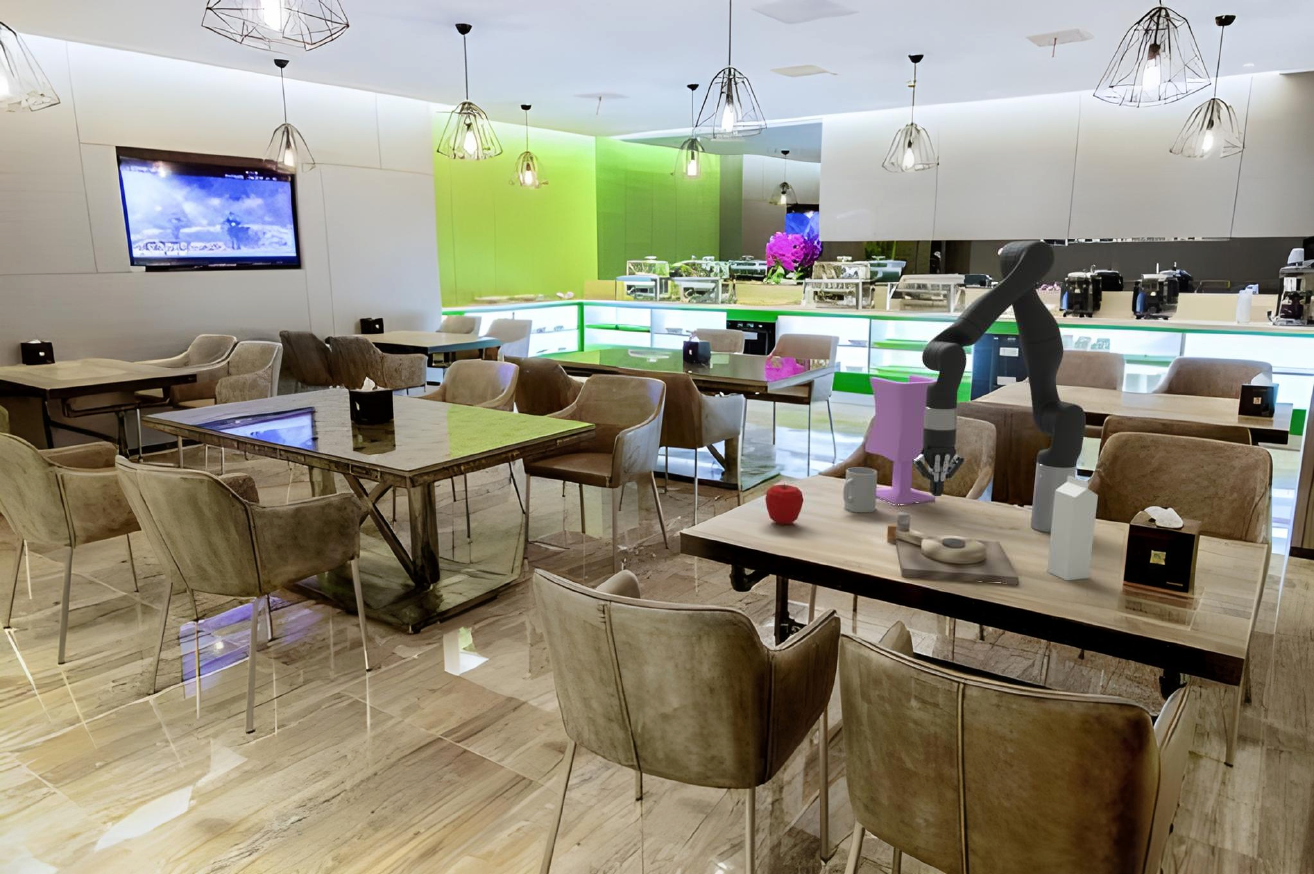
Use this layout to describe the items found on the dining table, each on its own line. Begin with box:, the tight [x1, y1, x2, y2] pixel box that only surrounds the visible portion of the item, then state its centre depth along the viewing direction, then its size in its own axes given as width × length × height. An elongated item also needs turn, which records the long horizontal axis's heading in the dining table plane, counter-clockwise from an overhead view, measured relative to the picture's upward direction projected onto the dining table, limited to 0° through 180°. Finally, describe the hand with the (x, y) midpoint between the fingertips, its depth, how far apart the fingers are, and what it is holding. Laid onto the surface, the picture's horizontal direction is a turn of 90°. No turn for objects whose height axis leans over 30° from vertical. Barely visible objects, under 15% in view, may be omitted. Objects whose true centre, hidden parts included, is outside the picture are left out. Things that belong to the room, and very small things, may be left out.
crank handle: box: [895, 511, 986, 564], centre depth 198 cm, size 22×14×6 cm, turn 37°
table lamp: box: [864, 374, 938, 506], centre depth 245 cm, size 16×16×35 cm
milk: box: [1046, 476, 1099, 581], centre depth 185 cm, size 6×6×22 cm
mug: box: [842, 466, 878, 513], centre depth 235 cm, size 12×8×11 cm
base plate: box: [886, 522, 1019, 585], centre depth 196 cm, size 26×26×4 cm
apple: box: [764, 483, 804, 526], centre depth 222 cm, size 10×10×11 cm
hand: (936, 495), depth 206 cm, fingers closed
